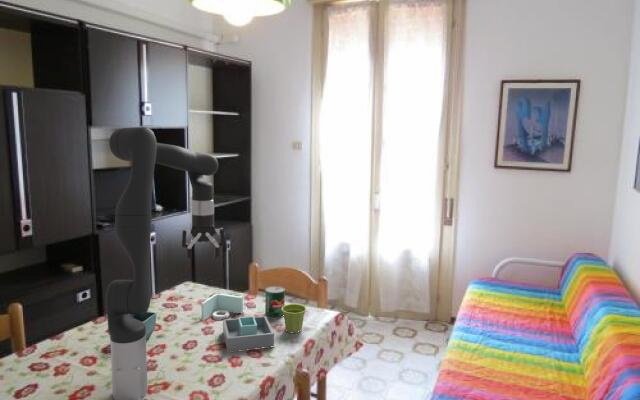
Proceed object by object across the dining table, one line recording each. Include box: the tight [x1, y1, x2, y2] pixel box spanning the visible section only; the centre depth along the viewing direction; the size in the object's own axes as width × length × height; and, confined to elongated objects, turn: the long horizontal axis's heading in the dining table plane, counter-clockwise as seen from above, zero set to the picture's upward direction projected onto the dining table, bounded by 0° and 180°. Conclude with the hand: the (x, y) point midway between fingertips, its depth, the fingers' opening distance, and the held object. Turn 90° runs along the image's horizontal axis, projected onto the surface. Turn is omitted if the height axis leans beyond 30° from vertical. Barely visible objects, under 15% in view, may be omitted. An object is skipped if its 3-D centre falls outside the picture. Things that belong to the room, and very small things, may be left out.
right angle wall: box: [201, 293, 244, 321], centre depth 185 cm, size 12×12×8 cm
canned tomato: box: [264, 285, 286, 319], centre depth 188 cm, size 8×8×11 cm
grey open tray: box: [222, 315, 275, 353], centre depth 166 cm, size 16×16×5 cm
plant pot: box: [282, 303, 307, 333], centre depth 174 cm, size 9×9×9 cm
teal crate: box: [238, 315, 257, 336], centre depth 165 cm, size 8×6×6 cm
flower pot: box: [129, 311, 157, 341], centre depth 163 cm, size 9×9×9 cm
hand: (203, 258), depth 161 cm, fingers open, 8 cm apart
